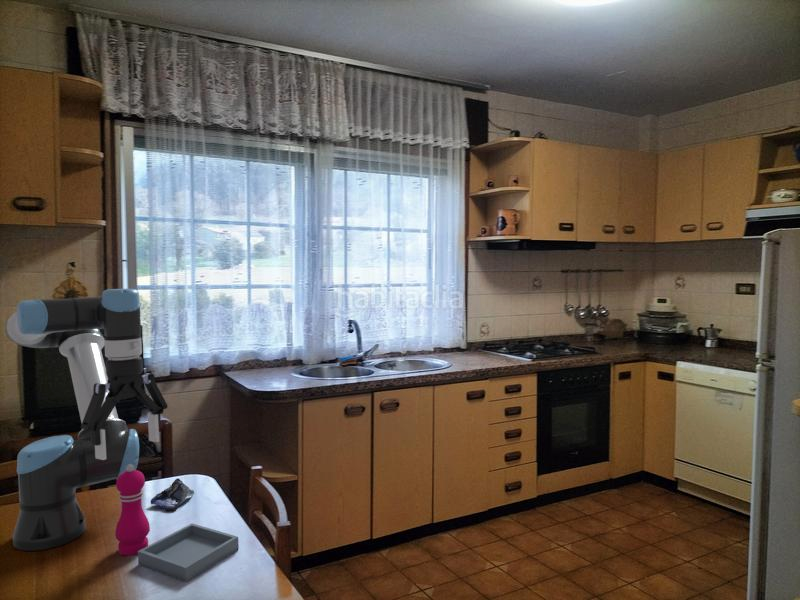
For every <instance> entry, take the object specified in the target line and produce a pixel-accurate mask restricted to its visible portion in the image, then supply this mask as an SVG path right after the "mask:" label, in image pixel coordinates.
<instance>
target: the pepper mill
mask: <svg viewBox="0 0 800 600" xmlns="http://www.w3.org/2000/svg"><path fill="white" fill-rule="evenodd" d="M145 483H146V478H145V476H144V474H143V472H141V471H140V470H137V469H136V470H134V465H132V464H129V465H127V467H126V471H125V472H123V473H122V474H121V475H120V476H119V477H118V479H116V483H115V485H116V489H117V491H118V492H119V495H118V497H119V498H118V499H119V501H120V502H121V512H120V517H119V519H118V521H117V523H116V527H115V534H114V535H115V538H116V540H117V541H118V542H119V543H118V544H117V546H118V550H117V551H118V554H119V555H122V556H134V555H138V551H139V550H141V549H143V548H145V547H147V546H149V538H148V537H147V536H148V535H149V533H150V530H151V529H150V528H151V527H150V522H149V520H148V517H147V516H146V514H145V511H144V509H143V505H142V498H143V497H144V494H143V493H144V490H143V487H144V486H145Z"/></svg>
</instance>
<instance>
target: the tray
mask: <svg viewBox="0 0 800 600" xmlns="http://www.w3.org/2000/svg"><path fill="white" fill-rule="evenodd" d="M239 545H240V544H239V536H237V535H233V534H231V533H226V532H224V531H221V530H216V529H213V528H210V527H205V526H202V525H199V524H196V523H190V524H188V525H186V526H184V527H182V528H180V529H178V530H177V531H174V532H173V533H171V534H169V535H166V536H164V537H163V538H161V539H158V540H157V541H155V542H153V543H151V544H148V546H147V547H145V548H143V549H141V550H139V551H138V554H137V561H138V565H139V566H140V567H144V568H147V569H150V570H153V571H155V572H158V573H161V574H164V575H167V576H169V577H172V578H175V579H177V580H180V581H182V582H186V583H187V582H188V581H190V580H192V579H194V578H195V577H197V576H198V575H200V574H202V573H203V572H205V571H206V570H209V567H210V568H212V567H213V566H215V565H216V564H217V562H218V563H219V562H221V561H222V560H224V559H226V558H227V557H229V556H230V554H231V555H232V554H234V553H235V552H237V551H238V550H237V549H240V548H239ZM236 550H237V551H236ZM234 551H235V552H234ZM233 552H234V553H233ZM228 555H229V556H228ZM225 557H226V558H225ZM215 563H216V564H215Z"/></svg>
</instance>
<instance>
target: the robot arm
mask: <svg viewBox="0 0 800 600" xmlns="http://www.w3.org/2000/svg"><path fill="white" fill-rule="evenodd" d="M140 301H141V300H140V294H139V291H138V290H137V289H136V288H111V289H105V290H103V292H102V294H101V295H100V296H89V297H88V296H87V297H72V298H53V299H52V298H48V299H38V298H36V299H35V298H34V299H30V300H22V301H20V302H19V303H18V304H17V305H16V311H15V312H14V313H12V314H11V315H10V316H9V317H8V319H7V320H6V323H5V333H6V336H7V337H8V338H9V339H10V340H11V341H12V342H13V343H15V344H16V345H20V346H23V347H27V348H33V349H47V348H51V349H52V348H58V350H59V353H60V354H61V355H62V356H63V357H65V358H67V361H68V367H69V371H70V376H71V380H72V385H73V390H74V395H75V399H76V404H77V409H78V412H79V417H80V422H81V424H80V428H81V430H80V431H78V435H77V439H75V440H74V438H73V437H72V436H71V435H69V434H61V435H53V436H49V437H45V438H43V439H39V440H35V441H33V442H31V443H29V444H28V445H26V446H24V447H23V448H22V449H20V451H19V453H18V454H17V456H16V458H17V459H16V460H17V461H16V462H17V463H16V465H17V467H16V473H17V476H18V477H17V479H18V480H17V481H18V497H19V498H18V499H19V500H18V501H19V512H18V517H17V520H16V523H15V527H14V530H13V534H12V544H13V545H12V546H13V547H14V548H15V549H17V550H20V551H27V552H29V551H30V552H32V551H33V552H34V551H36V552H37V551H42V550H47V549H53V548H56V547H60V546H63V545H65V544H69V543H70V542H72V541H74V540H76V539H78V538H79V537H80V536H82V535H83V534H84V533H85V531H86V530H87V528H86V518H85V515H84V513H83V511H82V509H81V507H80V505H79V502H78V500H77V496H76V493H77V492H76V490H77V489H79V488H82V487H88V486H92V485H95V484H100V483H104V482H108V481H114V480H117V479H118V477H119V476H120V475H121V474H122V473H123V472H125V471H126V467H127V465H129V464H132V465H134V470H137V468H138V464H139V458H140V457H139V456H140V441H139V440H140V439H139V435H138V432H137V430H136V429H134V428H130V429H128V426H127V423H126V421H125V420H123V419H120V418H119V415H118V413H117V412H118V411H117V408H116V405H117V404H119V403H120V401H121V400H123V401H124V400H127V399H129V398H135V397H136V399H138V400H139V402H141V404H143V406H144V407H146V408H147V409H148V411H149V412H150V413H148V414H147V424H148V425H147V427H148V428H147V429H148V441H149V442H153V443H158V442H160V430H159V429H160V427H161V424H162V423H161V415H162V414H164V411H165V410H166V409H168V407H169V406H168V403H167V401H166V400H165V398H164V396H163V394H162V392H161V390H160V389H159V387H158V384H157V383H156V377H155V374H154V373H150V372H149V373H148V372H147V373H146V372H145V373H143V371H144V367H143V364H144V363H143V357H142V356H141V355H142V354H143V349H142V348H143V347H142V346H143V343H142V325H141V324H142V323H141V302H140ZM103 348H104V357H106V360H104V357H103V353H102V349H103ZM143 384H144V386H145V388H146V390H147V391H148V393H149V395H150V396H149V395H148V394H147V391H146V390H145V389H143V387H142V386H143Z"/></svg>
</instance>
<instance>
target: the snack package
mask: <svg viewBox="0 0 800 600" xmlns="http://www.w3.org/2000/svg"><path fill="white" fill-rule="evenodd" d="M194 494H195V491H194V490H192V489H190V488H189V486H188V485H186V484H185V483H184V482H183V481H182V480H181V479H180V478H175V479H174V481H172V483H171V484H170V485H169V487H167V488H165V489H164V490H163V491H161V492H160V493H157V494H156V495H155V496H154V497H152V498H151V499H150V504H151V505H158V506H160V507H161V509H162V510H164V511H166V512H169V511H173V512H175V511H176V510H177V509H178V508H179V506H181V505H182V504H183V503H184V501H186V500H188V499H189V497H190V498H192V497H193V496H194Z"/></svg>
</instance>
